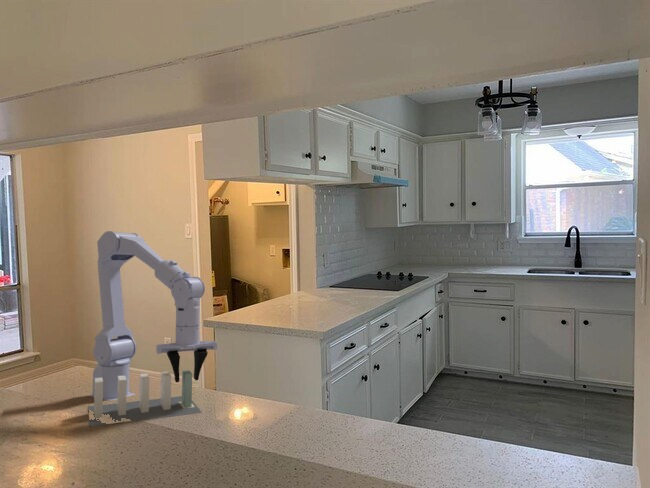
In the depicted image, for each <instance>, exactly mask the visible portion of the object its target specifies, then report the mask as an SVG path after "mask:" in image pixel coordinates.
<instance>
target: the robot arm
mask: <svg viewBox="0 0 650 488" xmlns="http://www.w3.org/2000/svg"><path fill="white" fill-rule="evenodd" d="M96 244H97V255H98V258H97V259H98V260H97V273H98V274H97V275H98V285H99V296H100V307H101V318H102V319H101V320H102V329H101V330H100V331H98V333H97V334H96V336H95V337H94V340H95V341H94V347H93V358H94V359H95V361H96V362H97V364H96V366H95V367H94V369H93V371H92V393H91V394H89V396H90V397H93V398H94V393H95V378H102V379H103V400H106V401H111V402H112V401H115V400H117V391H118V376H124V375H125V377H126V379H127V390H126V398H127V397H131V396H134V395H136V393H135V392H130V363H131V362H132V358H134V357H135V355H136V353H137V343H136V340H135V339H134V336H133V335H134V334H133V331H132V330H131V329H130V328H128V327H127V326H126V322H125V312H124V311H125V310H124V308H125V307H124V301H123V298H124V297H123V289H122V279H121V277H122V276H121V268H122V267H123V266H124V264H126V263H127V262H128V261H130V260H131V259H133V258H134V257H136V258H137V259H139V260H140V261H141V262H142V263H144V264H146V265H147V266H148V267H150V268H151V269H152V270H153V271H154V277H155V278H157V280H158V281H159V282H161V283H162V284H164V286H165V287H167V289H169V290H170V292H171V293H170V294H171V296H172V298H173V300H174V306H175V342H169V343H161V344H160V343H159V344H156V346H155V347H156V350H155V352H156V354H159V355H160V354H164V353H165V354H166V355H167V357H168V360H169V362H170V365H171V368H172V371H173V376H174V382H175V383H180V362H181V361H180V359H181V355H180V352H193V359H194V364H193V366H194V369H193V379H194V381H199V378H200V377H199V376H200V375H201V374H200V372H201V370H202V367H203V364H204V362H205V360H206V358H207V356H208V354H209V353H208V350H209V351H210V350H213V351H214V350H215V351H216V350H218V342H217V341H215V340H208V341H207V340H205V341H204V340H203V341H202V340H201V341H200V319H201V318H200V316H201V314H200V312H201V311H200V309H201V308H200V307H201V306H200V305H201V304H200V303H201V298H202V297H203V296H204V294H205V290H206V287H205V283H204V282H203V281H202V279H201V278H200V277H198V276H191V275H190V272H188V271H185V270H184V269H182V268H181V267H180V266H179V265H178V262H177V261H176V260H173V259H172V260H171V259H165V260H164V259H163V258H162V257H161V256H160V255H159V254H158V253H157V252H156V251H155V250H153V248H152V247H150V246H149V245H148V244H147V243H146V242H145V239H144V237H141V236H140V235H139V234H137V233H136V232H135V233H134V232H131V233H130V232H118V231H116V232H115V231H112V230H108V231H105V232H103V234H102V235H101V236H100V237H99V239H98V240H97V243H96Z"/></svg>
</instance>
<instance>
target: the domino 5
mask: <svg viewBox="0 0 650 488" xmlns="http://www.w3.org/2000/svg"><path fill="white" fill-rule="evenodd" d="M181 371H182V372H181V376H182V377H181V379H182V380H181V396H182V403H183V405H184V407H192V401H193V400H192V399H193V395H192V394H193V373H192V371H190V369H183V370H181Z"/></svg>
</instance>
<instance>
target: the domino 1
mask: <svg viewBox="0 0 650 488" xmlns="http://www.w3.org/2000/svg"><path fill="white" fill-rule="evenodd" d="M93 398H94V399H93V400H94V401H93V402H94V403H93V406H94V417H95V418H100V417H102V411H103V405H104V399H103V379H102V378H95V393H94V397H93Z"/></svg>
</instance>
